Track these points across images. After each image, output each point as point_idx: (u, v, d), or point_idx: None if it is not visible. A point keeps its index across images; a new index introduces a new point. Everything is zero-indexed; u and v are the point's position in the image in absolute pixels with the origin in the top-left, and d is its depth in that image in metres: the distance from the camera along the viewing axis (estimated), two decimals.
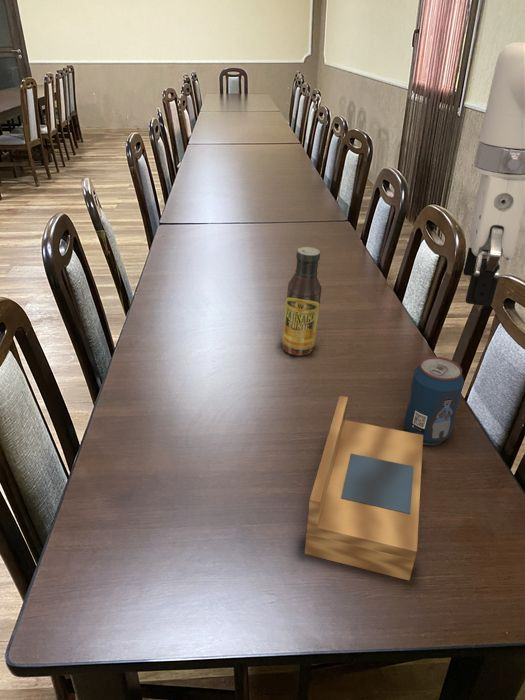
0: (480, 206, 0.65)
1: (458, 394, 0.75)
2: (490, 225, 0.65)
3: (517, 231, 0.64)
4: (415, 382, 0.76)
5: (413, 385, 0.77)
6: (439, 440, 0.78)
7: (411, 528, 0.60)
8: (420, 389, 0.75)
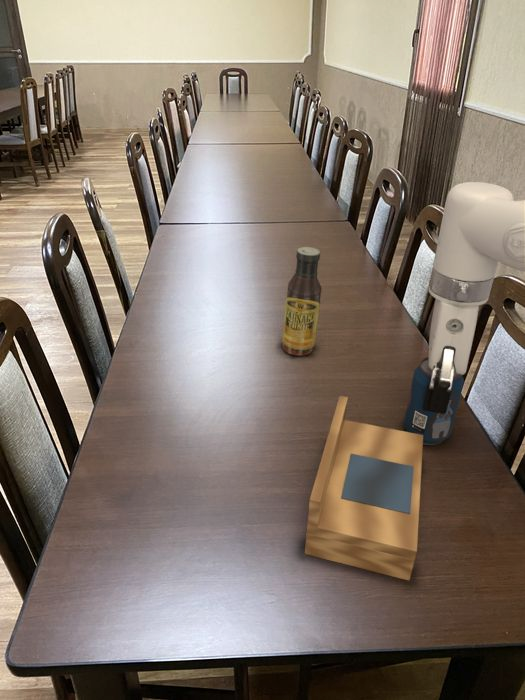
0: (434, 326, 0.69)
1: (458, 394, 0.75)
2: (443, 345, 0.69)
3: (468, 352, 0.68)
4: (415, 382, 0.76)
5: (413, 385, 0.77)
6: (439, 440, 0.78)
7: (411, 528, 0.60)
8: (420, 389, 0.75)
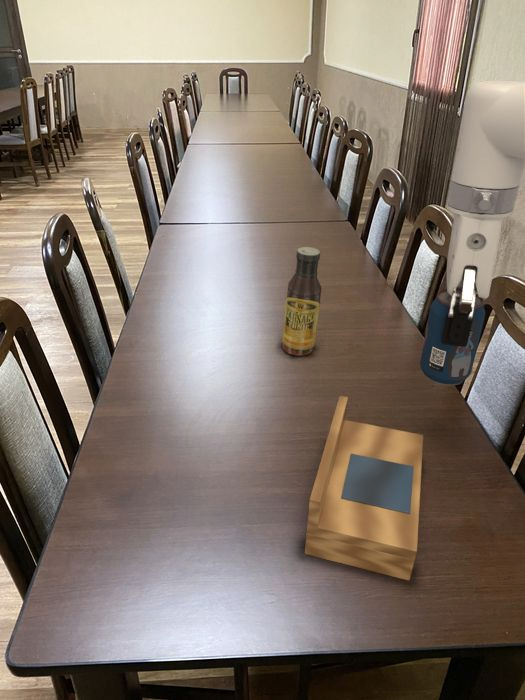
0: (453, 245, 0.64)
1: (479, 326, 0.69)
2: (463, 265, 0.63)
3: (491, 271, 0.62)
4: (432, 315, 0.70)
5: (430, 319, 0.71)
6: (459, 379, 0.72)
7: (411, 528, 0.60)
8: (438, 321, 0.70)
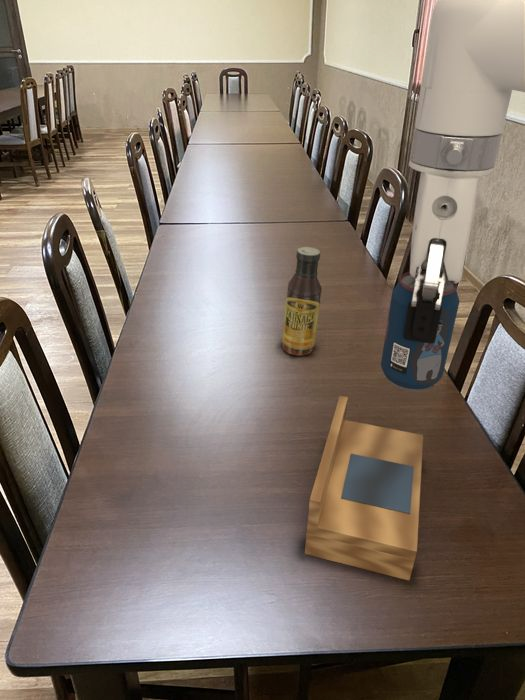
0: (416, 213, 0.49)
1: (451, 317, 0.55)
2: (428, 238, 0.49)
3: (464, 246, 0.48)
4: (394, 303, 0.56)
5: (391, 308, 0.57)
6: (426, 383, 0.58)
7: (411, 528, 0.60)
8: (399, 310, 0.55)
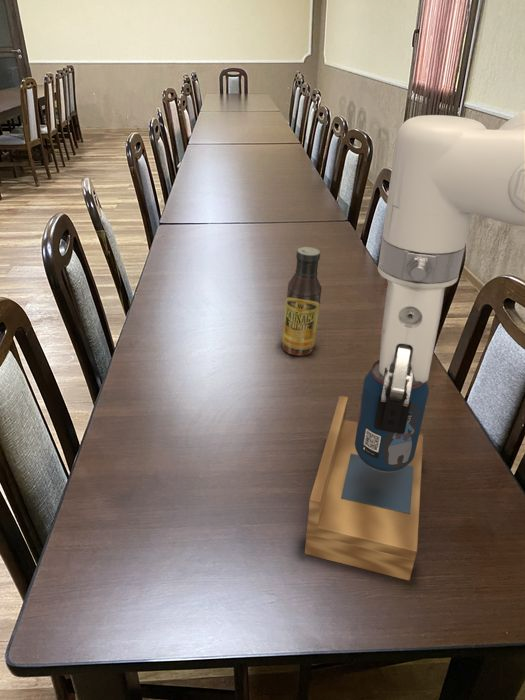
0: (384, 317, 0.51)
1: (421, 408, 0.57)
2: (396, 343, 0.50)
3: (430, 352, 0.50)
4: (365, 392, 0.58)
5: (363, 395, 0.59)
6: (398, 467, 0.60)
7: (411, 528, 0.60)
8: (371, 400, 0.57)
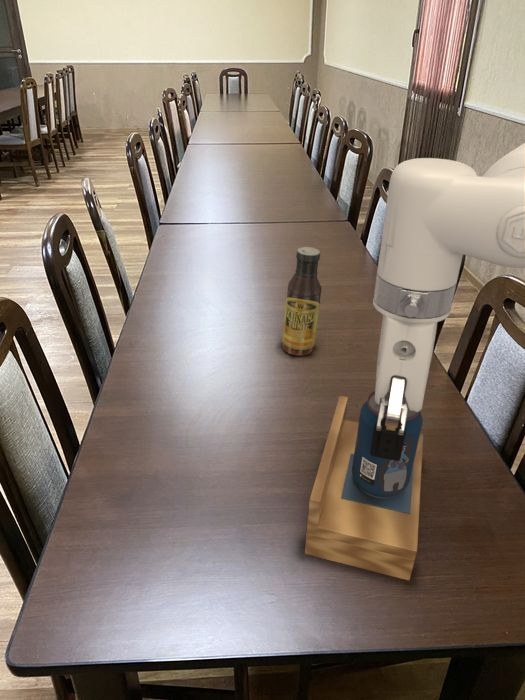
0: (379, 349, 0.53)
1: (415, 438, 0.59)
2: (390, 375, 0.52)
3: (423, 383, 0.52)
4: (361, 422, 0.60)
5: (359, 425, 0.61)
6: (393, 493, 0.62)
7: (411, 528, 0.60)
8: (367, 431, 0.59)
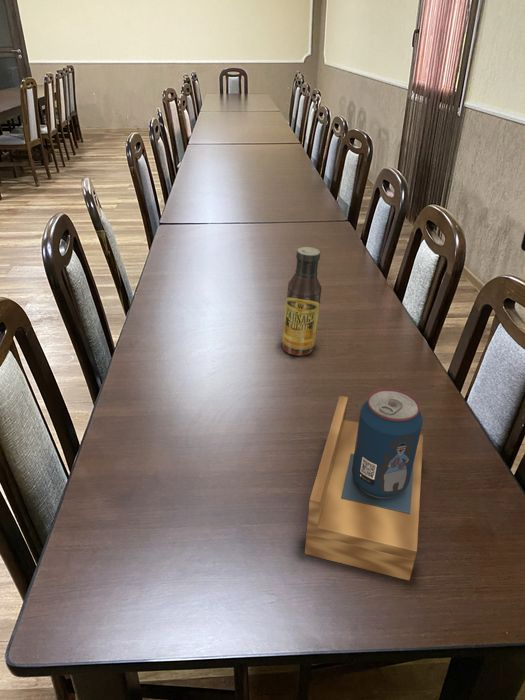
0: None
1: (415, 438, 0.59)
2: None
3: None
4: (362, 422, 0.60)
5: (359, 425, 0.61)
6: (393, 493, 0.62)
7: (411, 528, 0.60)
8: (367, 431, 0.59)
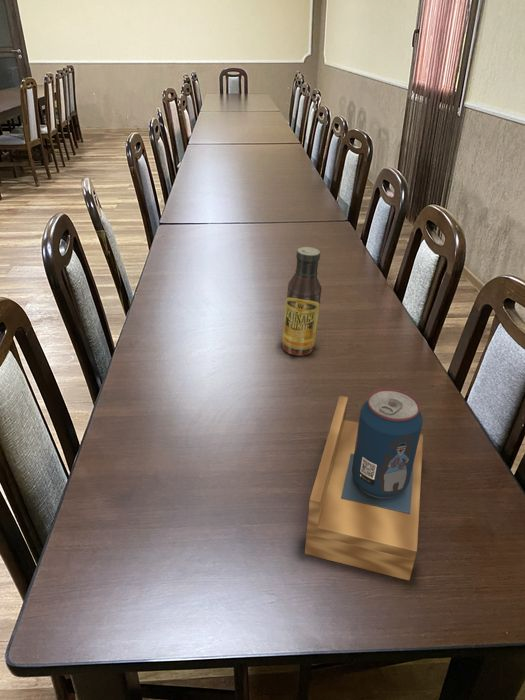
0: None
1: (415, 438, 0.59)
2: None
3: None
4: (362, 422, 0.60)
5: (359, 425, 0.61)
6: (393, 493, 0.62)
7: (411, 528, 0.60)
8: (367, 431, 0.59)
